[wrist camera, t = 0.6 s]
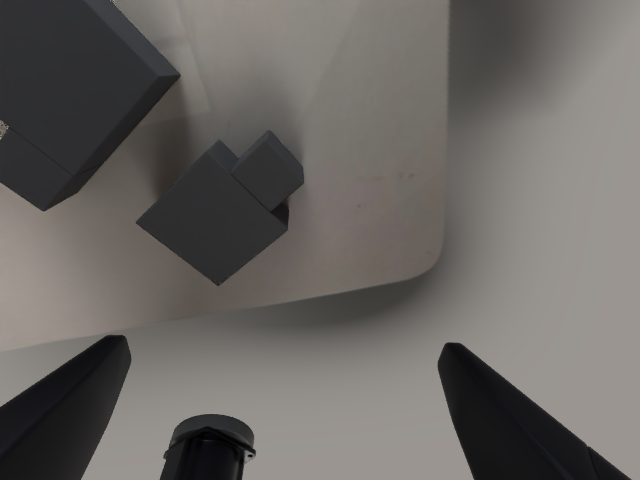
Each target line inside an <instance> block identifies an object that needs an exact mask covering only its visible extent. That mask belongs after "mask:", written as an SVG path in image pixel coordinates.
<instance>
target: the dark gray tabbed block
mask: <svg viewBox="0 0 640 480" xmlns="http://www.w3.org/2000/svg"><path fill="white" fill-rule="evenodd" d="M303 183H304V174H303V166H302V165H301V164H300V163H299V162H298V161H297V160H296V159H295V157H294V156H293V155H292V154H291V153H290V152H289V151H288V150H287V149H286V147H285V146H284V145H283V144H282V143H281V142H280V141H279V140H278V138H277V137H276V136H275V135H274V134H273V133H272V132H271V131H270V130H269V131H267V132H266V133H265V134H264V135H263V136H262V137H261V138H260V139H259V140H258V141H257V142H256V143H255V144H254V145H253V146H252V147H251V148H250V149H248V150H247V151H246V152H245V153H244V154H243V155H242V156H241V157H240V158H239V159H238V158H237V157H236V156H235V155H234V154H233V153H232V152H231V151H230V150H229V149H228V148H227V147H226V146H225V145H224V144H223V143H222V142H221V141H220V140H218V141H217V142H216V143H215V144H214V145H213V146H212V147H211V148H210V149H208V150H207V151H206V152H205V153H204V154H203V155H202V156H201V157H200V158H199V159H198V160H197V161H196V162H195V163H194V164H193V165H192V166H191V167H190V168H189V169H188V170H187V171H186V172H185V173H184V174H183V175H182V176H181V177H180V178H179V179H178V180H177V181H176V182H175V183H174V184H173V185H172V186H171V187H170V188H169V189H168V190H167V191H166V192H165V193H164V194H163V195H162V196H161V197H160V198H159V199H158V200H157V201H156V202H155V203H154V204H153V205H152V206H151V207H150V208H149V209H148V210H147V211H146V212H145V213H144V214H143V215H142V216H141V217H140V218H139V219H138V220H137V221H136V224H138V225H139V226H140V227H141V228H143V229H144V230H145V231H147V232H148V233H149V234H151V235H152V236H153V237H155V238H156V239H157V240H158V241H160V242H161V243H162V244H164V245H165V246H166V247H168V248H169V249H170V250H172V251H173V252H174V253H175V254H177V255H178V256H179V257H181V258H182V259H183V260H185V261H186V262H187V263H189V264H190V265H191V266H192V267H194V268H195V269H196V270H198V271H199V272H200V273H202V274H203V275H204V276H206V277H207V278H208V279H209V280H211V281H212V282H213V283H215V284H216V285H217V286H219V285H221V284H222V283H223V282H224V281H226V280H227V279H228V278H229V277H231V276H232V275H233V274H234V273H235V272H237V271H238V270H239V269H240V268H242V267H243V266H244V265H245V264H247V263H248V262H249V261H250V260H252V259H253V258H254V257H255V256H256V255H258V254H259V253H260V252H261V251H263V250H264V249H265V248H266V247H268V246H269V245H270V244H271V243H273V242H274V241H275V240H276V239H277V238H279V237H280V236H281V235H282V234H284V233H285V232H286V231H287V230H288V218H289V209H288V208H287V207H286V206H285V205H284V204H283V203H282V201H284V200H285V199H286V198H287V197H288V196H289V195H291V194H292V193H293V192H294V191H295V190H296V189H298V188H299V187H300V186H301V185H302V184H303Z"/></svg>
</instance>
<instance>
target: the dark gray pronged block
mask: <svg viewBox="0 0 640 480" xmlns="http://www.w3.org/2000/svg"><path fill="white" fill-rule="evenodd" d="M180 76H181V75H180V74H179V73H178V71H177V70H176V69H175V68H174V67H173V66H172V65H171V64H170V63H169V62H168V61H167V60H166V59H165V58H164V57H163V56H162V55H161V54H160V53H159V52H158V50H157V49H156V48H155V47H154V46H153V45H152V44H151V43H150V42H149V41H148V40H147V39H146V38H145V37H144V36H143V35H142V34H141V33H140V32H139V31H138V29H137V28H136V27H135V26H134V25H133V24H132V23H131V22H130V21H129V20H128V19H127V18H126V17H125V16H124V15H123V14H122V13H121V12H120V11H119V10H118V8H117V7H116V6H115V5H114V4H113V3H112V2H111V1H110V0H0V120H1V121H3V122H4V123H5V124H7V125H8V126H9V127H10V128H9V129H8V130H7V131H6V133H5V134H4V136H3V137H2V138H1V140H0V182H1V183H2V184H4V185H5V186H7V187H8V188H10V189H11V190H12V191H14V192H15V193H17V194H18V195H20V196H21V197H23V198H24V199H26V200H27V201H28V202H30V203H31V204H33V205H34V206H36V207H37V208H39V209H40V210H42V211H46V210H48V209H49V208H51V207H53V206H55V205H57V204H58V203H60V202H62V201H64V200H65V199H67V198H69V197H71V196H72V195H74V194H76V193H78V192H79V190H80V189H81V188H82V187H83V186H84V185H85V184H86V182H87V181H88V180H89V179H90V178H91V177H92V176H93V175H94V173H95V172H96V171H97V170H98V169H99V168H100V167H101V165H102V164H103V163H104V161H106V160H107V159H108V158H109V157H110V155H111V154H112V153H113V152H114V151H115V150H116V149H117V147H118V146H119V145H120V144H121V143H122V142H123V141H124V140H125V138H126V137H127V136H128V135H129V134H130V133H131V132H132V130H133V129H134V128H135V127H136V126H137V125H138V124H139V123H140V121H141V120H142V119H143V118H144V117H145V116H146V115H147V114H148V112H149V111H150V110H151V109H152V108H153V107H154V106H155V104H156V103H157V102H158V101H159V100H160V99H161V98H162V97H163V95H164V94H165V93H166V92H167V91H168V90H169V89H170V87H171V86H172V85H173V84H174V83H175V82H176V81H177V80H178V78H179V77H180Z"/></svg>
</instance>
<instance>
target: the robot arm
mask: <svg viewBox="0 0 640 480" xmlns="http://www.w3.org/2000/svg"><path fill="white" fill-rule="evenodd" d="M130 364H131V354H130V350H129V346H128V343H127V339H126V337H125V336H123V335H107V336H105V337H104V338H102V339H101V340H99V341H98V342H96V343H95V344H93V345H92V346H90V347H89V348H87V349H86V350H85V351H83V352H82V353H80V354H78V355H77V356H75V357H74V358H72V359H71V360H69V361H68V362H66V363H65V364H63V365H62V366H60V367H59V368H58V369H56V370H55V371H53V372H52V373H50V374H49V375H47V376H46V377H45V378H43V379H41V380H40V381H38V382H37V383H35V384H34V385H32V386H31V387H29V388H28V389H26V390H25V391H23V392H22V393H20V394H19V395H18V396H16V397H14V398H13V399H12V400H10V401H9V402H7V403H6V404H4V405H3V406H1V407H0V480H81V478H82V476H83V474H84V472H85V470H86V468H87V466H88V464H89V462H90V460H91V458H92V456H93V454H94V452H95V450H96V448H97V446H98V444H99V442H100V439H101V438H102V435H103V434H104V431H105V429H106V427H107V425H108V423H109V420H110V418H111V415H112V413H113V410H114V407H115V405H116V402H117V399H118V397H119V394H120V391H121V388H122V386H123V383H124V381H125V378H126V375H127V372H128V370H129V367H130ZM438 371H439V375H440V378H441V382H442V386H443V389H444V393H445V397H446V401H447V404H448V408H449V412H450V415H451V419H452V422H453V425H454V428H455V430H456V433H457V436H458V438H459V441H460V444H461V446H462V449H463V452H464V454H465V457H466V459H467V462H468V465H469V467H470V470H471V473H472V475H473V478H474V480H631V479H630V478H628V477H627V476H626V475H625V474H624V473H622V472H621V471H619V470H618V469H617V468H616V467H615V466H613V465H612V464H611V463H609V462H608V461H607V460H606V459H604V458H603V457H602V456H601V455H599V454H598V453H597V452H596V451H594V450H593V449H592V448H591V447H589V446H587V445H586V444H585V443H584V442H583V441H582V440H581V439H579V438H578V437H577V436H575V435H574V434H573V433H572V432H571V431H569V430H568V429H567V428H566V427H564V426H563V425H562V424H561V423H559V422H558V421H557V420H556V419H554V418H553V417H552V416H551V415H549V414H548V413H547V412H546V411H545V410H543V409H542V408H541V407H540V406H538V405H537V404H536V403H535V402H533V401H532V400H531V399H530V398H528V397H527V396H526V395H525V394H523V393H522V392H521V391H520V390H518V389H517V388H516V387H515V386H513V385H512V384H511V383H510V382H508V381H507V380H506V379H505V378H503V377H502V376H501V375H500V374H498V373H497V372H496V371H495V370H493V369H492V368H491V367H490V366H488V365H487V364H486V363H485V362H483V361H482V360H481V359H480V358H479V357H477V356H476V355H475V354H474V353H472V352H471V351H470V350H468V349H467V348H466V347H465V346H464V345H462V344H460V343H446V344H445V345H444V347H443V350H442V352H441V355H440V357H439V360H438ZM255 455H256V451H255V450H254V449H252V448H251V447H249V446H247V445H245V444H243V443H241V442H239V441H237V440H235V439H233V438H231V437H230V436H228V435H226V434H224V433H222V432H220V431H218V430H216V429H214V428H212V427H210V426H205V427H203V428H201V429H200V430H198V431H196V432H195V433H193V434H192V435H190V436H189V437H187V438H186V439H184V440H182V441H181V442H179V443H178V444H176V445H175V446H173V447H172V448H170V449H168V450H167V451H166V452H165V454H164V457H163V458H164V459H166V462H165V465H164V468H163V471H162V474H161V477H160V480H242V475H243V468H244V463H246V462H247V461H249V460H251V459H253V458H254V457H255Z"/></svg>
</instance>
